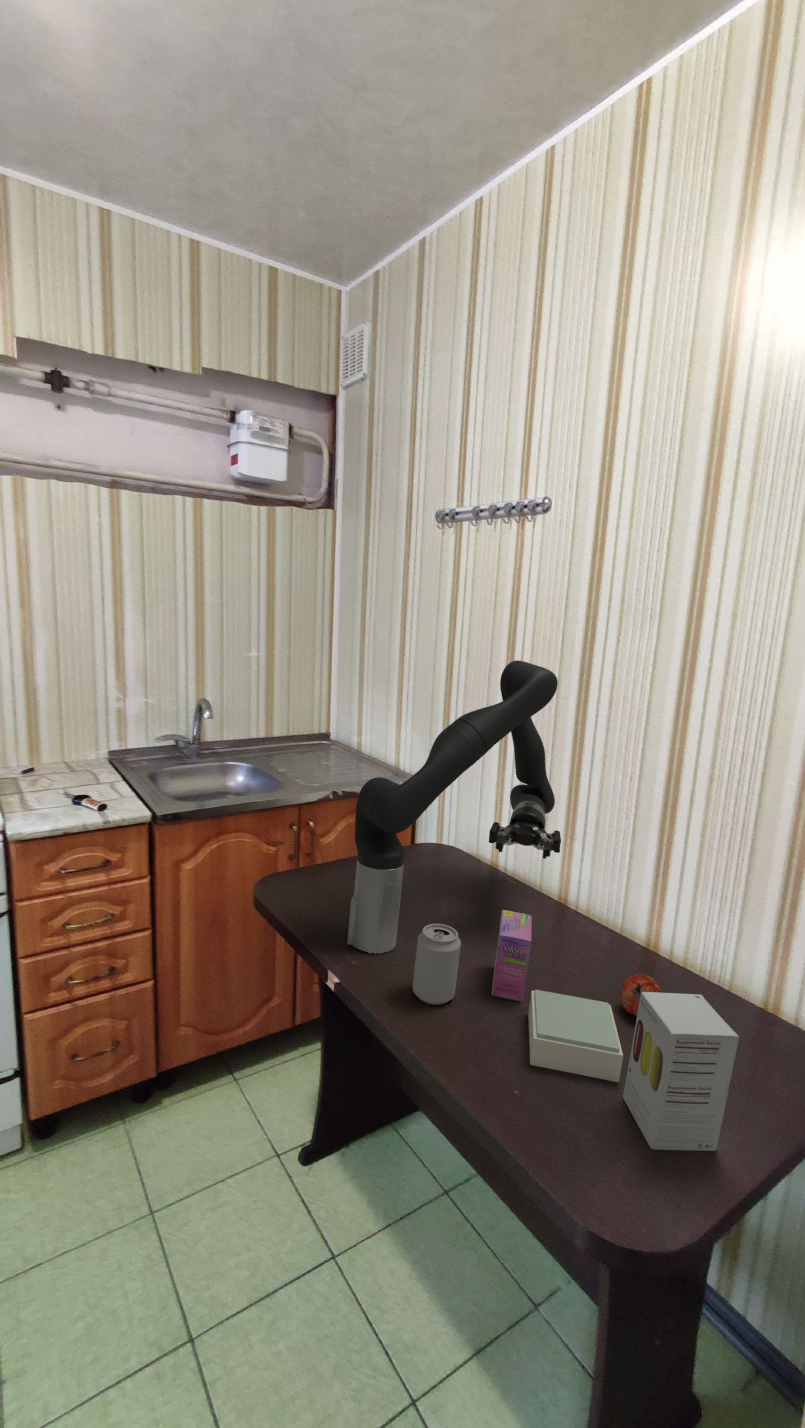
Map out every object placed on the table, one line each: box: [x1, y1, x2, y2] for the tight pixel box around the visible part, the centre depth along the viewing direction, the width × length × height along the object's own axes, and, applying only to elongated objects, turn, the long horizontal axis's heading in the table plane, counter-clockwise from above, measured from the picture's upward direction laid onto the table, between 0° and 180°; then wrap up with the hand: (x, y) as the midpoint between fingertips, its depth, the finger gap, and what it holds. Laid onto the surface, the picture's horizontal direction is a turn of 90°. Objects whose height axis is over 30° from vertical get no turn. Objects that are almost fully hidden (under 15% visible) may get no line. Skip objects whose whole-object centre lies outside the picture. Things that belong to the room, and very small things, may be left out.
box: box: [490, 909, 533, 1002], centre depth 119 cm, size 10×6×12 cm, turn 168°
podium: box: [527, 989, 624, 1083], centre depth 103 cm, size 13×13×5 cm
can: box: [412, 923, 462, 1006], centre depth 113 cm, size 8×8×12 cm
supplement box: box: [622, 992, 740, 1152], centre depth 87 cm, size 10×9×17 cm
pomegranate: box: [619, 973, 665, 1018], centre depth 114 cm, size 7×7×10 cm
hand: (522, 850), depth 126 cm, fingers open, 8 cm apart
